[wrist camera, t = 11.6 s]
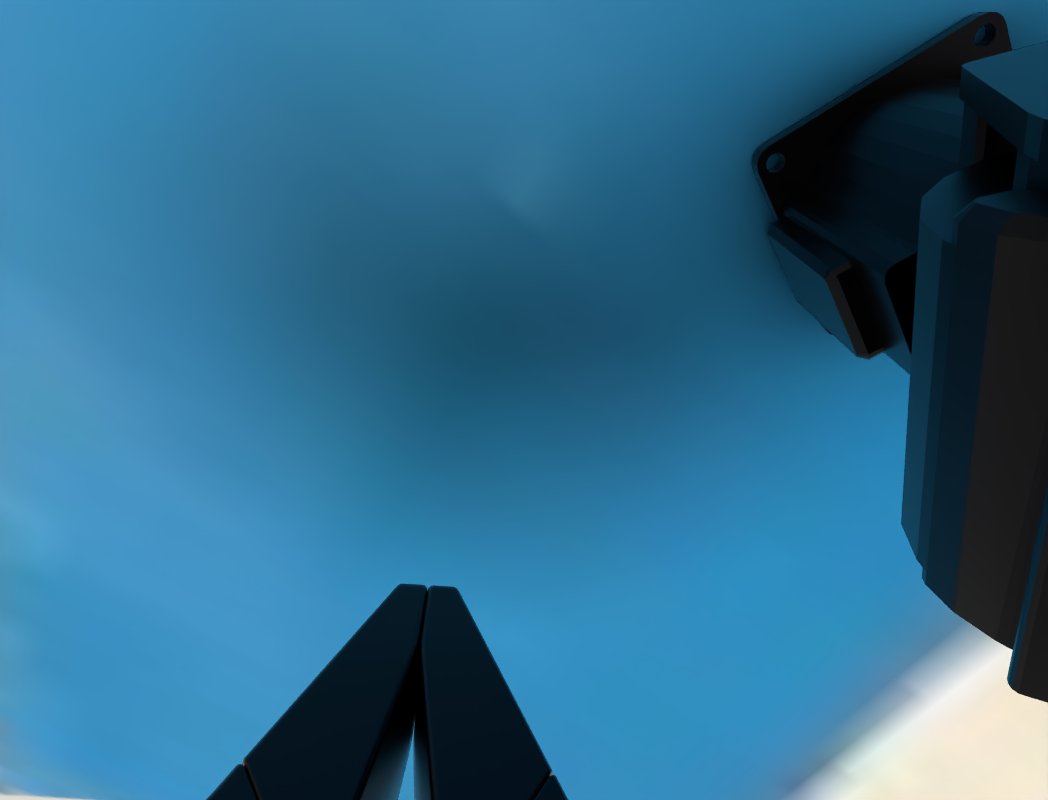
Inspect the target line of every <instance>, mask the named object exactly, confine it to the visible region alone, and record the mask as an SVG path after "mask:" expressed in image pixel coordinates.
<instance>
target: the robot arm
mask: <svg viewBox="0 0 1048 800" xmlns="http://www.w3.org/2000/svg"><path fill="white" fill-rule="evenodd" d="M982 25H983V26H984V27H985V36H984V38H983V40H982V41H981V42H980V43H979V44H978V45H976V44H975V42H974V41H975V34H976V32H977V30H978V29H979V28H980V27H981V26H982ZM774 153H778V154H779V157H780V160H779V163H778V165H777V166H776V167H775V168H773V169H770V170H768V169H767V167H766V162H767V160H768V158H769V157H770V156H771V155H772V154H774ZM752 167H753V171H754V173H755V176H756V178H757V180H758V182H759V185H760V187H761V189H762V192H763V194H764V196H765V198H766V201H767V203H768V205H769V208H770V210H771V212H772V214H773V217H774V219H775V221H773V222H772V223H770V225H769V228H768V232H767V236H768V238H769V240H770V243H771V245H772V247H773V249H774V252H775V254H776V256H777V258H778V260H779V263H780V265H781V267H782V269H783V272H784V274H785V276H786V278H787V281H788V283H789V285H790V287H791V289H792V292H793V294H794V296H795V298H796V300H797V301H798V302H799V303H800V304H801V305H802V306H803V307H804V308H805V309H806V310H807V311H808V312H809V313H811V314H812V315H813V316H814V317H815V318H816V319H817V320H818V321H819V322H820V324H821V325H822V327H823V328H824V329H825V330H826V331H827V332H828V333H829V334H832V335H834V336H835V337H836V338H837V339H838V340H839V341H840V342H841V343H842V344H844V345H845V346H846V347H847V348H848V349H849V350H850V351H851V352H852V353H853V354H854V355H855V356H856V357H860V358H864V359H868V360H869V359H871V358H873V357H875V356H877V355H879V354H881V353H883V352H884V353H885V354H886V355H887V356H889V357H890V358H891V359H892V360H893V361H894V362H896V363H897V364H898V365H899V366H900V367H901V368H903V369H904V370H905V371H906V372H907V373H908V374H910V387H909V403H908V420H907V436H906V453H905V469H904V486H903V502H902V519H901V525H902V527H903V529H904V531H905V534H906V536H907V538H908V541H909V543H910V545H911V547H912V550H913V552H914V554H915V557H916V559H917V560H918V562H919V563H920V564H921V566H922V567H923V571H922V579H923V581H924V583H925V584H926V585H927V586H928V587H929V588H930V589H931V590H932V591H933V592H934V593H935V594H936V595H937V596H938V597H939V598H940V599H941V600H942V601H943V602H944V603H945V604H946V605H947V606H948V607H949V608H950V609H951V610H952V611H953V612H954V613H956V614H957V615H959V616H960V617H962V618H963V619H965V620H966V621H967V622H969V623H970V624H972V625H973V626H975V627H976V628H978V629H979V630H981V631H982V632H984V633H985V634H987V635H988V636H990V637H991V638H992V639H994V640H995V641H997V642H999V643H1001V644H1003V645H1004V646H1006V647H1008V648H1010V649H1013V652H1012V657H1011V662H1010V667H1009V672H1008V676H1007V680H1008V684H1009V685H1010V687H1011V688H1012V689H1013V690H1014V691H1016V692H1017V693H1019V694H1022V695H1025V696H1028V697H1031V698H1034V699H1038V700H1041V701H1045V702H1048V41H1046V42H1042V43H1038V44H1034V45H1031V46H1027V47H1023V48H1020V49H1016V50H1012V48H1011V43H1010V39H1009V34H1008V29H1007V25H1006V22H1005V19H1004V17H1003V16H1002V15H1000V14H999V13H997V12H978V13H976V14H973V15H971V16H969V17H967V18H966V19H964V20H962V21H961V22H959V23H958V24H956V25H954V26H953V27H951V28H950V29H948V30H946V31H945V32H943V33H941V34H940V35H938V36H937V37H935V38H933V39H932V40H930V41H929V42H927V43H925V44H924V45H922V46H920V47H919V48H917V49H916V50H914V51H912V52H911V53H909V54H908V55H906V56H904V57H903V58H901V59H899V60H898V61H896V62H895V63H893V64H891V65H890V66H888V67H887V68H885V69H883V70H882V71H880V72H878V73H877V74H875V75H874V76H872V77H870V78H869V79H867V80H866V81H864V82H862V83H861V84H859V85H857V86H856V87H854V88H853V89H851V90H849V91H848V92H846V93H845V94H843V95H841V96H840V97H838V98H836V99H835V100H833V101H832V102H830V103H828V104H827V105H825V106H824V107H822V108H820V109H819V110H817V111H815V112H814V113H812V114H811V115H809V116H807V117H806V118H804V119H803V120H801V121H799V122H798V123H796V124H794V125H793V126H791V127H790V128H788V129H786V130H785V131H783V132H782V133H780V134H778V135H777V136H775V137H774V138H772V139H770V140H769V141H767V142H765V143H764V144H763V145H761V146H760V147H759V148H758V149H757V151H756V152H755V154H754V156H753V160H752ZM414 722H415V726H414ZM413 729H414V753H413V758H414V800H568V798H567V797H566V795H565V793H564V791H563V789H562V787H561V785H560V783H559V781H558V779H557V777H556V776H555V775H552V769H551V767H550V766H549V764H548V762H547V760H546V758H545V756H544V754H543V752H542V750H541V748H540V746H539V744H538V742H537V741H536V739H535V737H534V735H533V733H532V731H531V729H530V727H529V725H528V723H527V721H526V719H525V717H524V716H523V714H522V712H521V710H520V708H519V706H518V704H517V702H516V700H515V698H514V696H513V694H512V692H511V691H510V689H509V687H508V685H507V683H506V681H505V679H504V677H503V675H502V673H501V671H500V669H499V667H498V666H497V664H496V662H495V660H494V658H493V656H492V654H491V652H490V650H489V648H488V646H487V644H486V642H485V641H484V639H483V637H482V635H481V633H480V631H479V629H478V627H477V625H476V623H475V621H474V619H473V617H472V616H471V614H470V612H469V610H468V608H467V606H466V604H465V602H464V600H463V598H462V596H461V594H460V593H459V591H458V590H457V588H455V587H448V586H431V587H429V589H428V592H427V587H426V586H425V585H416V584H400V585H398V586H397V587H396V588H395V589H394V590H393V591H392V592H391V593H390V595H389V596H388V597H387V598H386V599H385V600H384V601H383V602H382V604H381V605H380V606H379V607H378V608H377V609H376V610H375V612H374V613H373V614H372V615H371V616H370V617H369V618H368V619H367V621H366V622H365V623H364V624H363V625H362V626H361V627H360V628H359V630H358V631H357V632H356V633H355V634H354V635H353V636H352V637H351V639H350V640H349V641H348V642H347V643H346V644H345V645H344V646H343V648H342V649H341V650H340V651H339V652H338V653H337V654H336V655H335V657H334V658H333V659H332V660H331V661H330V662H329V663H328V664H327V666H326V667H325V668H324V669H323V670H322V671H321V672H320V674H319V675H318V676H317V677H316V678H315V679H314V680H313V681H312V683H311V684H310V685H309V686H308V687H307V688H306V689H305V690H304V692H303V693H302V694H301V695H300V696H299V697H298V698H297V699H296V701H295V702H294V703H293V704H292V705H291V706H290V707H289V708H288V710H287V711H286V712H285V713H284V714H283V715H282V716H281V717H280V719H279V720H278V721H277V722H276V723H275V724H274V725H273V726H272V728H271V729H270V730H269V731H268V732H267V733H266V734H265V736H264V737H263V738H262V739H261V740H260V741H259V742H258V743H257V745H256V746H255V747H254V748H253V749H252V750H251V751H250V752H249V754H248V755H247V756H246V757H245V758H244V759H243V762H242V763H243V765H242V764H238V765H237V766H236V767H235V768H234V769H233V770H232V771H231V773H230V774H229V775H228V776H227V777H226V778H225V779H224V780H223V782H222V783H221V784H220V785H219V786H218V787H217V788H216V790H215V791H214V792H213V793H212V794H211V795H210V796H209V797H208V798H207V799H206V800H398V797H399V793H400V789H401V785H402V780H403V776H404V772H405V768H406V764H407V760H408V756H409V751H410V746H411V741H412V736H413Z"/></svg>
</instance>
